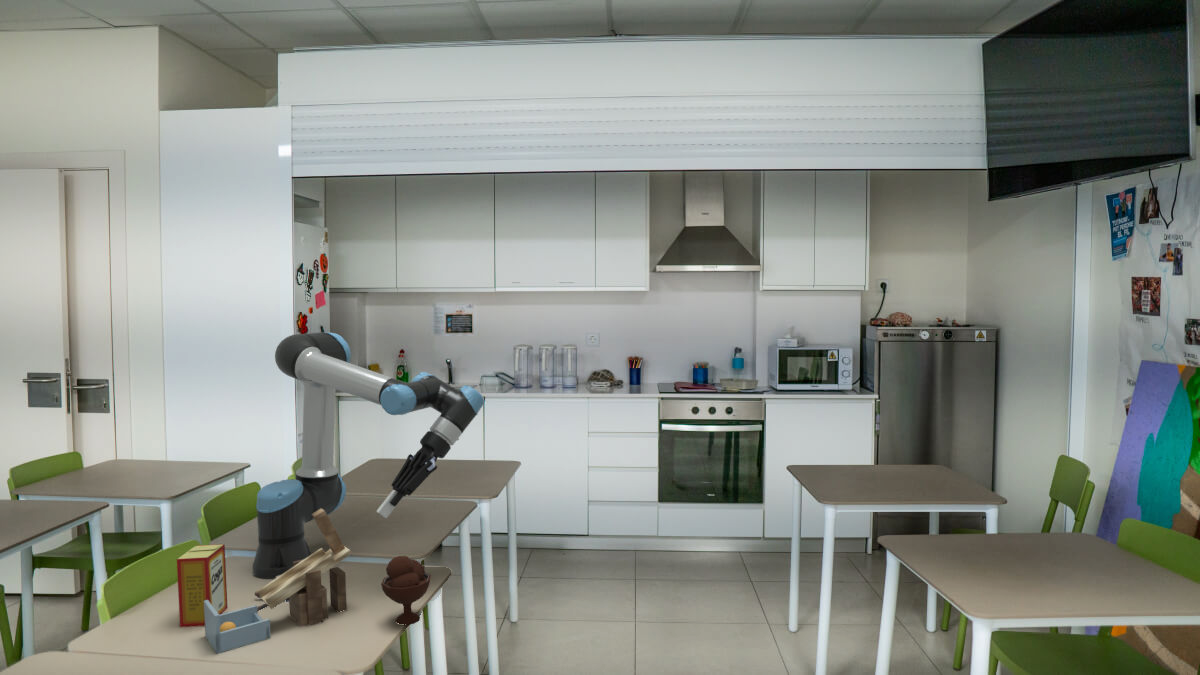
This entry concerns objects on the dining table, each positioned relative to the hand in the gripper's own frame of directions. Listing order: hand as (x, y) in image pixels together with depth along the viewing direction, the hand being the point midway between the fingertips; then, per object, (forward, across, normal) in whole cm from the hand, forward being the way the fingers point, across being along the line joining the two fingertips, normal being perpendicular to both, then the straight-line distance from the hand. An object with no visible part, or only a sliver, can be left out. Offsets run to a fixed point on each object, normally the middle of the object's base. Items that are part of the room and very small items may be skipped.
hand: (381, 514), depth 178 cm
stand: (+25, 0, -3) cm, 26 cm away
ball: (+38, 0, +12) cm, 40 cm away
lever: (+20, 0, +6) cm, 21 cm away
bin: (+38, 0, +10) cm, 39 cm away
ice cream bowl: (+16, -17, -13) cm, 27 cm away
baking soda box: (+40, +16, +12) cm, 45 cm away
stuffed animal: (+29, +16, 0) cm, 33 cm away
